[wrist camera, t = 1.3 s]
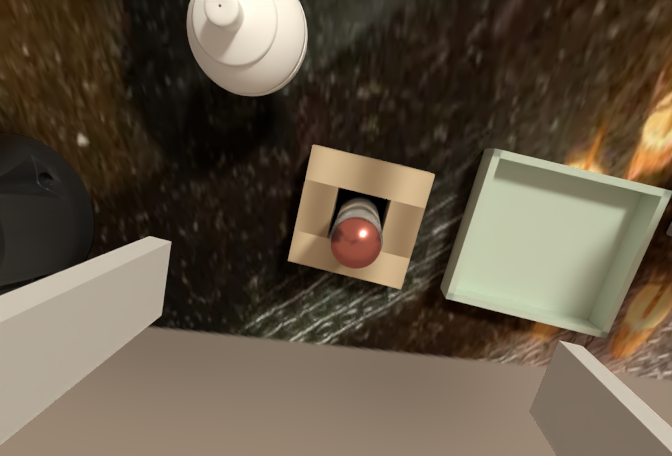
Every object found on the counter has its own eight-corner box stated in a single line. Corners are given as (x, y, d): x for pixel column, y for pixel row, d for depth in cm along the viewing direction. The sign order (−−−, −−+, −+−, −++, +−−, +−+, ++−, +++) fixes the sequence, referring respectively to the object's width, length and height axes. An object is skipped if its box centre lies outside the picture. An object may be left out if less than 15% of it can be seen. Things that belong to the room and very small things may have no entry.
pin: (336, 226, 33) (322, 263, 23) (345, 190, 32) (335, 211, 22) (372, 235, 33) (375, 276, 22) (382, 199, 32) (390, 224, 22)
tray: (439, 287, 34) (445, 298, 31) (484, 148, 31) (494, 148, 28) (588, 324, 33) (606, 338, 31) (648, 187, 30) (672, 191, 28)
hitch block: (294, 251, 34) (287, 260, 31) (317, 145, 32) (312, 144, 29) (397, 277, 34) (401, 289, 31) (428, 172, 32) (435, 174, 29)
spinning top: (258, 123, 32) (195, 108, 20) (215, 39, 31) (122, -29, 19) (336, 81, 31) (317, 39, 19) (294, -9, 29) (247, -112, 18)
